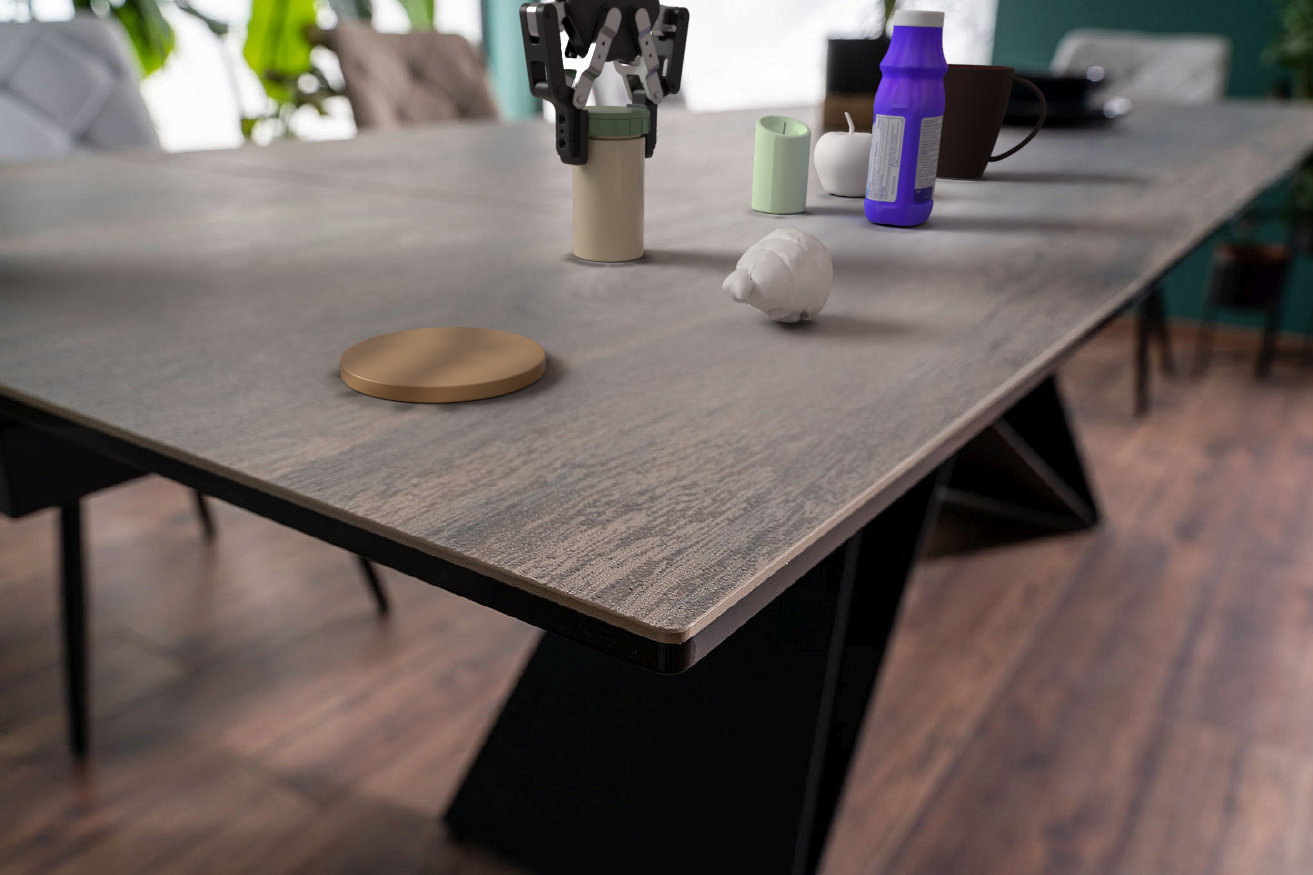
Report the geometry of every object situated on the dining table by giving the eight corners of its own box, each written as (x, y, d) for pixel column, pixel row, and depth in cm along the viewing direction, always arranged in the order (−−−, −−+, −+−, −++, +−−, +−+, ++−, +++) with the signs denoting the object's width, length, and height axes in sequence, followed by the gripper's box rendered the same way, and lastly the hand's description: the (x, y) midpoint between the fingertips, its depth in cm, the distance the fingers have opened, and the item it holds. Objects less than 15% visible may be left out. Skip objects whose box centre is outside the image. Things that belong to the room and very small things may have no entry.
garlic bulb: (697, 322, 63) (700, 229, 61) (769, 307, 66) (775, 218, 64) (763, 344, 59) (769, 245, 57) (836, 327, 63) (845, 233, 61)
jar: (574, 262, 77) (573, 122, 74) (572, 246, 82) (571, 113, 78) (646, 261, 78) (648, 122, 74) (640, 245, 83) (642, 114, 79)
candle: (815, 212, 99) (822, 119, 96) (766, 215, 97) (772, 120, 94) (789, 204, 103) (795, 114, 100) (742, 206, 101) (746, 115, 98)
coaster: (315, 400, 49) (313, 384, 49) (369, 338, 58) (368, 324, 58) (535, 405, 49) (535, 388, 49) (554, 342, 58) (553, 328, 58)
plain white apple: (816, 187, 113) (822, 108, 110) (884, 191, 112) (892, 111, 109) (806, 197, 107) (812, 113, 104) (878, 202, 105) (887, 117, 102)
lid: (666, 132, 76) (667, 110, 76) (605, 138, 72) (605, 114, 72) (610, 125, 80) (610, 104, 80) (549, 130, 76) (548, 108, 76)
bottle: (876, 212, 100) (896, 10, 93) (938, 218, 97) (962, 11, 91) (854, 224, 94) (873, 9, 87) (919, 231, 91) (944, 10, 85)
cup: (915, 168, 130) (927, 62, 126) (1036, 175, 126) (1052, 67, 121) (905, 178, 121) (918, 65, 117) (1035, 187, 117) (1052, 71, 113)
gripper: (563, -115, 64) (565, 176, 70) (724, -96, 73) (714, 159, 79) (486, -108, 69) (494, 163, 75) (646, -91, 78) (642, 148, 84)
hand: (607, 159), depth 77 cm, fingers closed on lid, 5 cm apart
